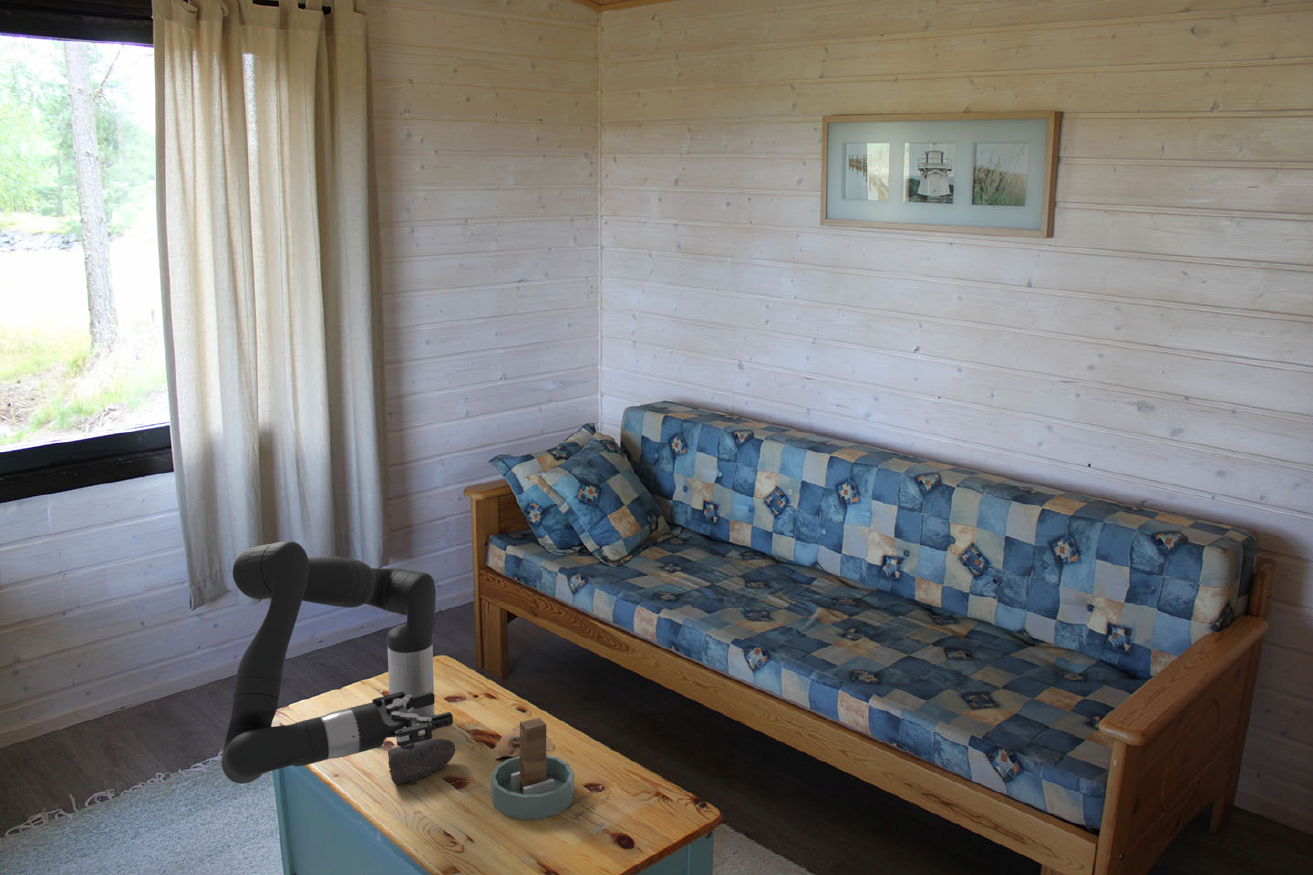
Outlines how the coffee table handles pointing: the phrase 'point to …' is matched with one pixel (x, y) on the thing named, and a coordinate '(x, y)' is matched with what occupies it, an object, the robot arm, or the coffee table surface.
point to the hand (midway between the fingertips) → (442, 707)
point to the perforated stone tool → (419, 759)
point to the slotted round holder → (532, 790)
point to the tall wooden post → (532, 752)
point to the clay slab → (514, 744)
